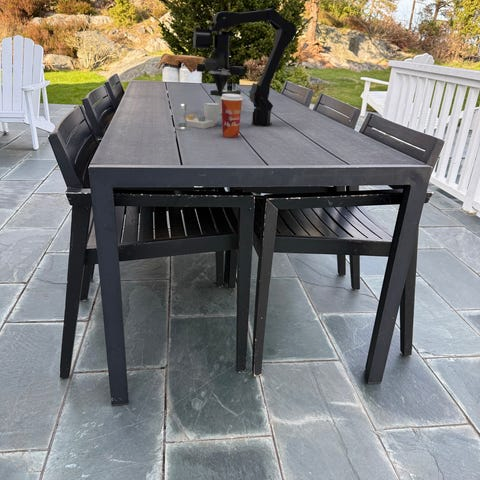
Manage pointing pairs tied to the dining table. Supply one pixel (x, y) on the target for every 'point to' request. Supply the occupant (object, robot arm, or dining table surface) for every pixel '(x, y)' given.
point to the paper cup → (231, 114)
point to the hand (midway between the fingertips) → (220, 93)
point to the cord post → (182, 117)
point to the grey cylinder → (212, 111)
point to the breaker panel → (199, 122)
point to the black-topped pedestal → (225, 91)
